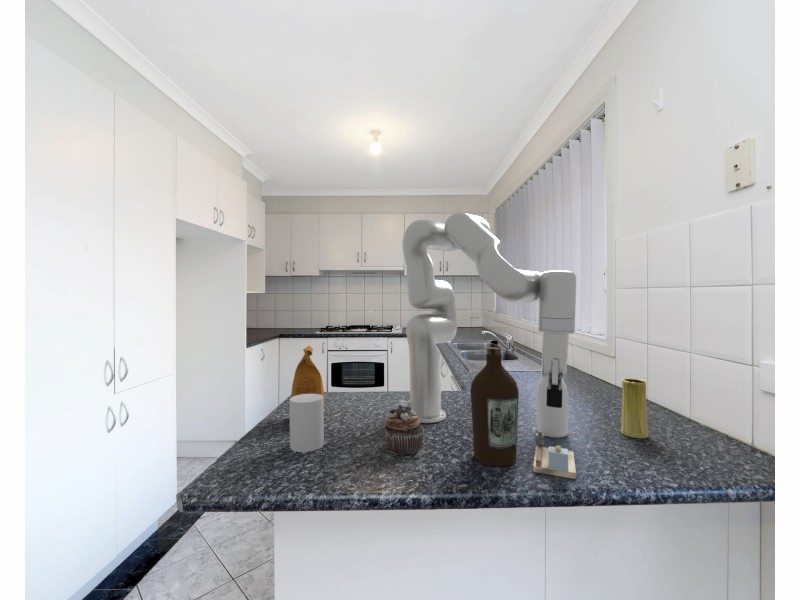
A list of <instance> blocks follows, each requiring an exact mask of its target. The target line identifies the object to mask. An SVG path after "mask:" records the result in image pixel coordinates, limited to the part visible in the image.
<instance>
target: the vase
mask: <svg viewBox="0 0 800 600" xmlns="http://www.w3.org/2000/svg"><path fill="white" fill-rule="evenodd" d="M621 388H622V391H621V392H622V393H621V394H622V395H621V398H622V401H621V429H620V432H621V434H622V435H624V436H626V437H629V438H633V439H646V438H648V437H649V433H648V414H647V413H648V412H647V411H648V410H647V407H648V406H647V382H646V381H645V380H643V379H640V378H639V379H638V378H622V384H621Z"/></svg>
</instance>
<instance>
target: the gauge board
mask: <svg viewBox="0 0 800 600" xmlns="http://www.w3.org/2000/svg"><path fill="white" fill-rule="evenodd" d="M535 444H536V446H535V449H534V450H535V451H534V458H533V466H532V467H533V470H532V471H533V473H540V474H545V475H551V476H555V477H561V478H568V479H574V480H577V472H576V464H575V463H576V462H575V455H574V451H573V450H568V472H563V471H557V470H551V469H549V447H544V446H545V436H544V434H542V432H540V431H539V432H538V431H537V432H536V433H535Z"/></svg>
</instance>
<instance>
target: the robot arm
mask: <svg viewBox="0 0 800 600" xmlns="http://www.w3.org/2000/svg"><path fill="white" fill-rule="evenodd" d="M501 247H502V246H501V242H500V240H499V239H498V237H496V236H495V235H493V233H491V227H490V224H489V223H488V222H487V220H486V219H484V217H481V216H479V215H473V214H471V213H466V212H456V213H452V214H451V215H449V216H448V218H447V219H445V222H439V221H436V220H430V219H417V220H414V221H412V222H411V223H410V224H409V225H408V226H407V228H406V229H405V232H404V234H403V237H402V252H403V256H404V262H405V268H406V280H407V281H406V283H407V294H408V295H407V296H408V301H409V304H410V306H411V307H412V308H413V309H416V310H421V311H422V310H424V311H425V310H430V311H431V313H421V314H416V315H413V316H412V317H411V318H410V319H409V320H408V321H407V324H406V326H405V327H406V328H405V333H406V338H407V343H408V344H407V345H408V351H409V399H408V401H407V400H403V399H399V400H398V406H399V405H401V406H402V407H404V409H405V407H410V408H411V410H412V411H413V412H415V413H416V416H418V417H419V418H420V423H421V424H434V423H438V422H439V423H440V422H442V421H444V420H445V419H447V413H446V411H445V410H443V409H442V388H441V387H442V386H441V385H442V381H441V380H442V379H441V378H442V376H441V375H442V374H441V373H442V372H441V370H442V367H441V363H442V362H441V361H442V360H441V355H440V352H439V350H438V348H437V345H436V344H445V343H448V342H451V341H452V340H453V339H455V336H456V334H457V332H458V318H457V309H456V308H457V307H456V297H455V292H454V289H453V288H452V285H451V284H450V283H449V282H447V281H445V280H443V279H442V280H441V279H436V278H435V271H434V270H435V269H434V267H435V266H434V264H433V261H432V258H431V256H430V254H429V253H428V250H435V251H443V252H452V251H458V250H460V251H462V252H463V253H464V254H465V255H466V256H467V257H468V258H469V259H470V260H471V261H472V262H473V263H474V264H475V268H476V271H477V274H478V276H479V277H480V278H479V279H481V280H482V282H483V283H484V284H485V285H487V286H488V287H489V289H491V290H492V292H493V293H495V295H497V296H498V297H499V298H501V299H502V300H504V301H507V302H510V303H534V302H535V303H536V302H539V304H538V309H539V310H538V332H540V333H543V334H542V342H541V343H542V345H541V347H542V348H541V372H540V373H541V374H540V376H543V377H544V376H547V375H548V387H547V404H546V405H547V406H548V407H556V408H562V389H561V383H562V379H563V380H564V379H566V375H567V369H568V368H567V366H568V355H569V338H570V336H569V335H572V334H576V306H577V305H576V300H577V299H576V298H577V297H576V295H577V276H576V274H575V273H574V272H573V271H570V270H546V271H544V272H540V271H532V270H524V269H517V268H515V267H514V266H513V265H512V264H510V263H509V262H508V260H506V259H505V258H503V256H501V254H500V249H501ZM552 359H553V361H552ZM558 361H559V362H558Z"/></svg>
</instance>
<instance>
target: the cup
mask: <svg viewBox="0 0 800 600" xmlns="http://www.w3.org/2000/svg"><path fill="white" fill-rule="evenodd" d="M324 410H325V407H324V408H323V396H322V395H320V394H301V395H296V396H293V397H291V396H290V398H289V449H290V448H291V449H292V450H293V451H297V452H308V451H314V450H317V449H319V448H321V447H322V446H323V445H324V446H325V435H324V433H325V431H324V430H325V428H324V427H325V426H324V425H325V424H324V422H325V421H324V420H325V419H324V415H325V414H324ZM324 446H323V447H324ZM323 447H322V448H323ZM322 448H321V449H322ZM319 450H320V449H319ZM293 451H292V452H293ZM317 451H318V450H317ZM314 452H315V451H314Z"/></svg>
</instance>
